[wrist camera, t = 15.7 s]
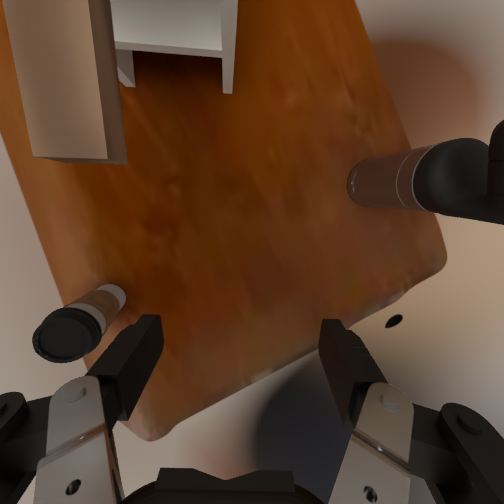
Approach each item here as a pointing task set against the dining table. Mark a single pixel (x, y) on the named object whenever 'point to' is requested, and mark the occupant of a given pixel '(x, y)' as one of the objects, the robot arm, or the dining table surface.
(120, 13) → the shelf stand
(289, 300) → the dining table surface
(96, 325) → the coffee cup
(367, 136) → the dining table surface
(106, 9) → the walnut mallet
